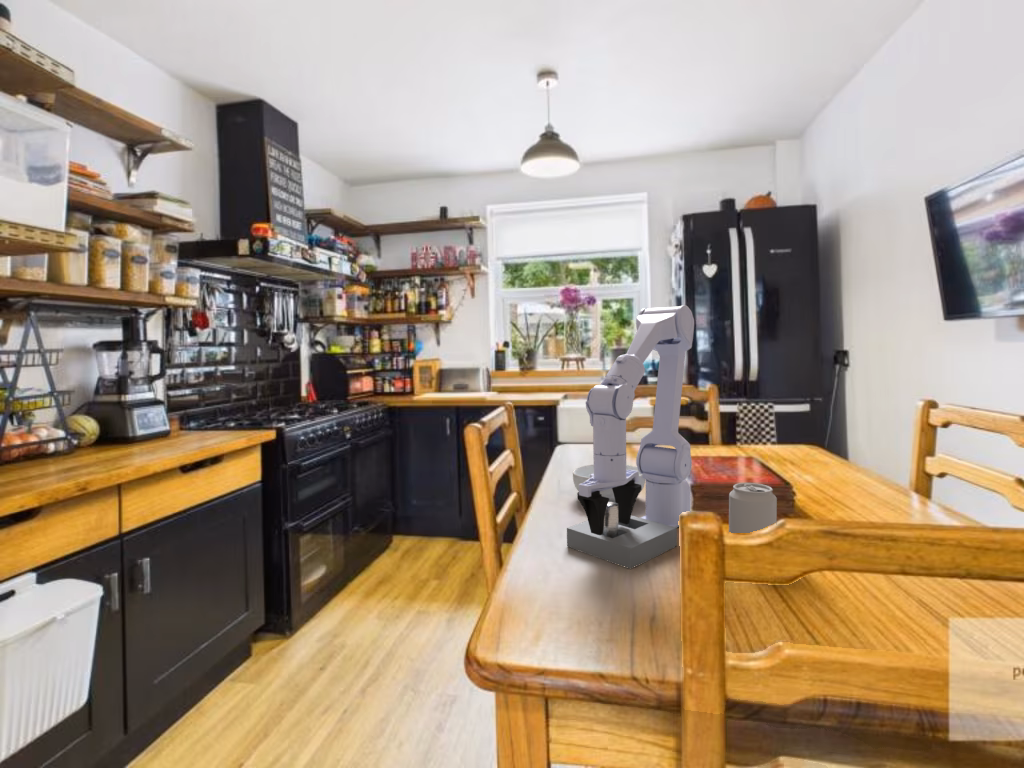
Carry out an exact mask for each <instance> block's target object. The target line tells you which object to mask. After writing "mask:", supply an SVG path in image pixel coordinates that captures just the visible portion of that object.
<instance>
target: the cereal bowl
mask: <svg viewBox="0 0 1024 768" xmlns="http://www.w3.org/2000/svg"><path fill="white" fill-rule="evenodd" d="M626 470H635V471H638V468H637V466H634V465H629V464H626ZM593 473H594V463H593V464H586V465H583V466H578V467H576V468H575V469H574V470H572V479H573V481H572V482H573V484H574V487H575V489H576V491H577V492H579V484H581V483H584V482H585V481H587V480H588V479H590V474H593ZM635 484H640V485H641V491H640V493H641V492H642V491H643V489H644V487H645V485H646V479H643V478H642V474H641V473H640V472H639V481H638V482H635ZM600 494H602V497H606V498H609V501H608V502H615V497H614V493H613V490H612V488H611V489H607V490H604V491H601V492H600ZM615 503H616V502H615Z"/></svg>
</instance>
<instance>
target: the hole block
mask: <svg viewBox="0 0 1024 768" xmlns="http://www.w3.org/2000/svg"><path fill="white" fill-rule="evenodd" d="M677 528H678V527H673V526H669V525H665V524H661V523H658V522H654V521H650V520H646V519H643V518H640V517H638V516H635V515H631V518H630V522H629V524H627V525H626V524H623V523H619V522H618V536H617V537H615V538H610V537H607V536H604V535H597V534H594V533H591V530H590V526H589V522H588V519H587V520H585V521H582V522H579V523H576V524H574V525H572V526H571V525H570V526H568V527H566V547H567V546H568V547H567V548H570V547H571V549H573V550H576V549H577V550H576V551H578V550H579V551H578V552H581V551H582V552H581V553H585V554H586V555H589V554H590V556H593V557H595V558H598V559H601V558H602V559H601V560H603V559H605V560H604V561H606V560H608V561H607V562H609V561H610V562H609V563H612V562H613V564H615V563H616V564H615V565H617V564H619V565H618V566H620V565H622V566H621V567H623V566H625V567H624V568H626V567H628V568H627V569H629V568H632V567H634V566H636V565H638V566H640V565H641V563H642V564H644V563H646V562H648V561H650V560H652V559H654V558H656V557H658V556H660V555H662V554H664V553H666V552H668V551H670V550H672V549H674V548H676V547H677V546H678V545H677V543H678V542H677V541H678V540H677V536H678V535H677V530H678V529H677ZM675 546H676V547H675ZM671 548H672V549H671ZM669 549H670V550H669ZM667 550H668V551H667ZM665 551H666V552H665ZM663 552H664V553H663ZM661 553H662V554H661ZM659 554H660V555H659ZM651 558H652V559H651ZM645 561H646V562H645ZM643 562H644V563H643ZM639 564H640V565H639ZM636 567H637V566H636ZM634 568H635V567H634ZM632 569H633V568H632Z"/></svg>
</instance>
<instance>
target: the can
mask: <svg viewBox="0 0 1024 768" xmlns="http://www.w3.org/2000/svg"><path fill="white" fill-rule="evenodd" d="M732 488H733V489H732V490H731V491H730V492H729V494H728V533H729V532H731V533H750V532H753V531H757V530H760V529H763V528H765V527H767V526H769V525H771V524H773V523H775V522H776V523H777V514H778V513H777V511H778V510H777V509H778V507H777V505H778V504H777V502H778V501H777V500H778V498H777V497H776V495H775V494H774V493H773V491H774V489H773V488H772V487H771V486H769V485H765V484H762V483H756V482H755V483H754V482H739V483H735V484H733V486H732Z"/></svg>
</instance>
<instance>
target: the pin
mask: <svg viewBox="0 0 1024 768" xmlns="http://www.w3.org/2000/svg"><path fill="white" fill-rule="evenodd" d="M618 515H619V505H618V504H617V503H615V502H608V504H607V507H606V511H605V516H604V530H603V534H602V535H604V536H607V537H610V538H615V537H617V536H618Z"/></svg>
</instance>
